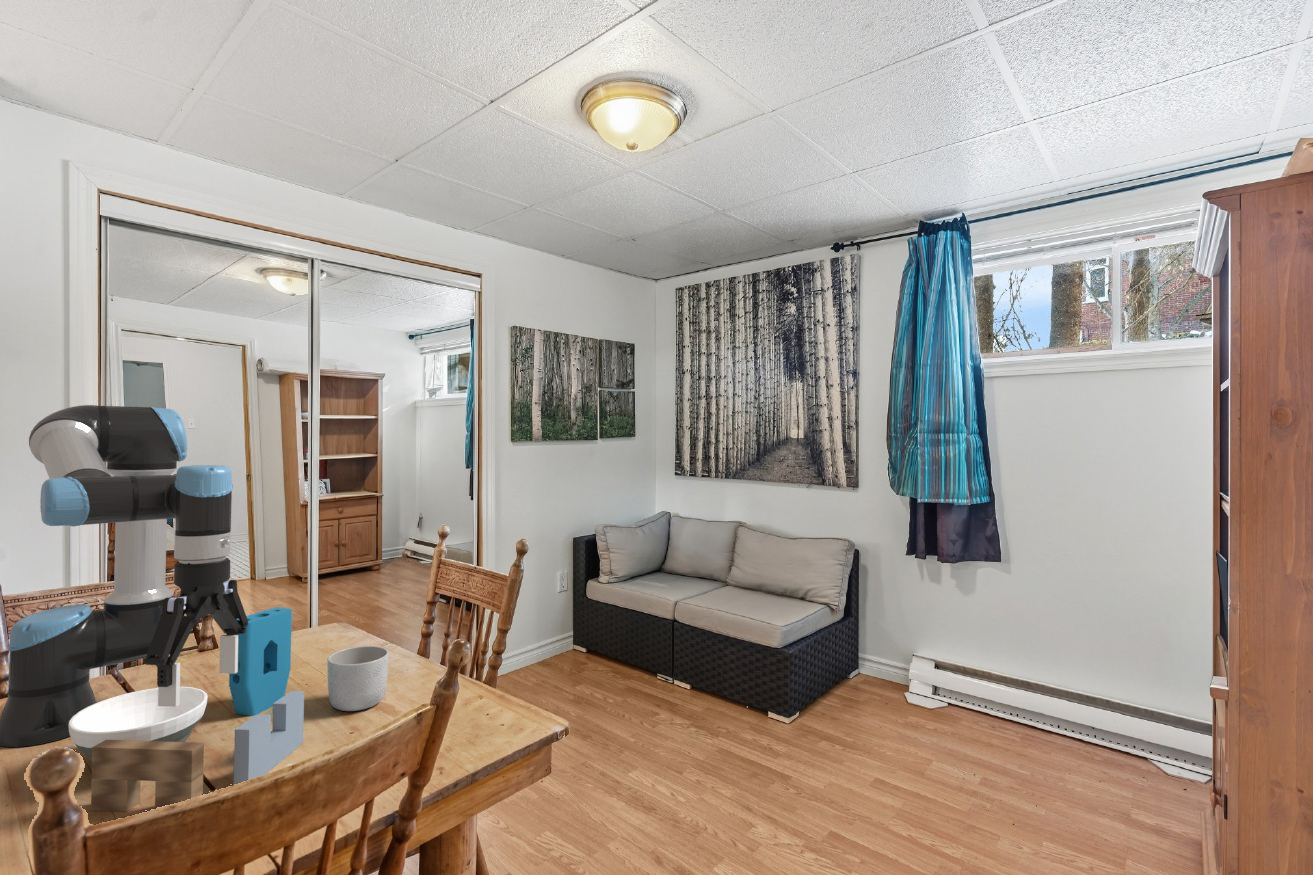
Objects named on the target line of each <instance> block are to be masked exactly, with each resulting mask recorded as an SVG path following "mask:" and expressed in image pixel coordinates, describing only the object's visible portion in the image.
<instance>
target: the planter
mask: <svg viewBox="0 0 1313 875" xmlns="http://www.w3.org/2000/svg"><path fill="white" fill-rule="evenodd" d="M389 658H390V651H389V649H387V648H385V647H382V646H378V645H360V646H352V647H347V648H343V649H340V650H338V651H335V652H333V653H331V654H330V655H329V656H328V657H327V659H326V660H327V661H326V662H327V664H326V665H327V690H328V691H327V692H328V700H329V703H330V705H331V706H332V707H333V708H335V709H336V710H338V711H343V712H357V711H362V710H363V711H364V710H366V709H369V708H372V707H374V706H376V705H378V704H379V703H380V702H381V701H382V699H383V698H384V696H385V695H386V690H387V685H388V674H389V673H388V672H389V661H390V660H389Z"/></svg>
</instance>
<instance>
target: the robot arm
mask: <svg viewBox="0 0 1313 875" xmlns="http://www.w3.org/2000/svg"><path fill="white" fill-rule="evenodd" d="M186 432H187V431H186V429H185V425H184V422H183V419H182V417H181V416H180V414H179V413H178V412H177V411H175V410H173V409H171V408H162V407H153V406H147V407H146V406H126V405H125V406H124V405H123V406H120V405H119V406H118V405H117V406H116V405H96V404H95V405H94V404H84V405H76V406H70V407H66V408H63V409H59V410H58V411H55V412H52V413H50V414H49V415H47V416H45V417H44V418H43V419H41V420H39V421H38V422H37V423H36V425H34V427H33V428H32V430H30V433H29V437H28V446H29V449H30V451H31V454H32V455H33V457H34V458H35V459H36V460H37V461H39V463H41V464H43V466H44V468H45V470H46V473H47V476H48V479H46V480H45V481H44V482H43V483H42V485H41V488H40V497H39V498H40V501H39V502H40V504H39V505H40V506H39V507H40V508H39V509H40V515H41V521H42V523H43V524H45V525H46V526H50V527H60V526H63V527H64V526H66V527H67V526H68V527H69V526H70V527H80V526H86V525H87V526H88V525H96V524H97V525H98V524H99V525H101V524H110V523H111V524H115V528H114V529H115V531H114V534H115V535H114V536H115V537H114V572H113V574H114V575H113V578H114V580H113V591H112V592H111V593H109V595H108V596H107V597H105V598H104V602H103V608H102V609H96V610H92V608H91V606H90V605H89V604H82V603H80V604H79V603H78V604H73V605H72V604H71V605H62V606H57V607H53V608H50V609H46V610H42V611H38V612H35V613H32V614H30V615H27V616H25V617H23V618H21V619H19V620H18V621H16V622H15V623H14V624H13V625H12V627H11V629H10V631H9V633H10V634H9V644H8V645H7V651H9V659H8V660H9V662H8V684H7V685H8V687H7V689H8V690H7V691H8V693H7V694H8V695H7V700H6V703H5V705H4V708H3V710H2V712H1V715H0V746H1V747H6V748H17V747H18V748H19V747H21V748H22V747H28V746H29V747H30V746H31V747H32V746H36V745H41V744H46V743H51V742H55V741H59V740H61V739H65V738H69V737H70V734H69V721H70V720H71V718H72V717H73V716H74V715H76V714H77V713H78V712H80V711H81V710H83V709H85V708H87V707H89V706H91V705H93V704H95V703H98V702H97V701H96V697H95V694H94V691H93V689H92V686H91V684H90V670H93V669H98V668H102V667H107V666H113V665H117V664H123V663H128V662H133V661H138V660H144V659H145V660H144V664H145V665H146V666H156V675H157V676H156V684H157V685H156V686H157V688H158V706H169V707H176V706H178V705H179V703H180V687H181V662H179V661H178V658H179V656H180V654H181V652H182V650H183V648H184V646H185V644H186V642H187V640H188V638H189V636H190V635H191V632H192V630H193V629H194V626H195V625H196V624H198V623H200V621H201V619H203V618H205V617H206V616H208V615H210V616H211V617H212V619H213V620H214V621H215V623H216V624H217V626H218V627H219V628H220V629H221V631H222V632H223V634H222V635H219V672H218V674H229V673H231V674H235V673H237V672H238V648H239V645H238V644H239V634H244V633H245V632H246V627H247V625H248V620H247V617H246V616H247V614H246V612H245V609H244V606H243V603H242V601H241V598H240V594H239V590H238V581H237V580H236V579H231V559H230V558H229V557H228V556H230V554H231V542H232V541H231V531H232V502H233V500H232V497H233V495H232V492H233V489H234V484H233V480H232V479H233V478H232V470H231V468H230V467H229V466H226V465H215V464H214V465H211V464H205V465H204V464H203V465H202V464H200V465H199V464H197V465H184V466H180V467H178V469H177V465H178V464H177V463H180V462H183V461H184V460H186V458H187V456H188V455H187V451H188V439H187V433H186ZM105 463H107V464H105ZM175 471H176V473H174V472H175ZM173 473H174V474H173ZM171 519H172V520H173V519H174V520H175V522H174V523H175V531H174V546H173V547H174V548H173V551H174V552H173V558H174V559H175V560H176V561H177V562H175V564H174V568H173V569H174V570H173V571H174V572H173V584H174V585H175V586H177V587H178V588H180V593H179V596H178V597H175V595H174V594H175V592H174V591H173V590H172V589H170V588H169V587H168V586H167V585H166V575H167V574H166V570H167V568H166V567H167V566H166V565H167V531H168V530H167V528H168V527H167V526H168V525H167V524H168V523H167V522H168V520H171ZM237 619H239V620H237ZM177 661H178V662H177Z"/></svg>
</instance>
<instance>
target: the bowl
mask: <svg viewBox="0 0 1313 875" xmlns="http://www.w3.org/2000/svg"><path fill="white" fill-rule="evenodd" d="M208 696H209V695H208V694H207V692H205V691H204V690H202V689H200V688H197V687H191V686H180V703H179V705H178V706H176V707H169V706H158V687H155V688H146V689H142V690H136V691H132V692H127V693H123V694H119V695H116V696H113V697H110V698H106V699H104V700H100V701H98V702H97V703H95V704H93V705H91V706H89V707H87V708H85V709H83V710H81V711H80V712H78V713H77V714H76V715H74V716H73V717H72V718H71V720H70V721H69V734H70V736H69V737H70V739H71V742H72V743H73V744H74V745H75V747H77V749H78V750H79V751H80V752H81V753H84V755H85V757H86V758H87V760H89V761H90V762H92V747H94V746H95V745H97V744H99V743H101V742H103V741H105V740H134V741H163V742H186V741H187V740H188V739H189V737H190V736H191V734H192V732H193V730H194V729H195V728H196V726H197V725H198V724H199V723H200V721H201V719H202V718H203V716H204V713H205V710H206V708H207V704H208Z"/></svg>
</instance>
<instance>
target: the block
mask: <svg viewBox="0 0 1313 875" xmlns="http://www.w3.org/2000/svg"><path fill="white" fill-rule="evenodd" d="M292 616H293V609H292V608H290V607H289V608H288V607H280V606H279V607H272V608H269V609H266V610H262V611H258V612H255V613H252V614H249V615H246V617H247V620H248V625H247V627H246V632H245V633H244V634H239V644H238V645H239V648H238V672H237V673H235V674H231V673H228V675H229V677H228V678H229V679H228V688H229V690H230V693H231V699H232V703H233V705H234V706H233V707H234V711H235V713H236V714H237V715H242V716H249V717H252V716H253V717H254V716H255V715H257V714H260V713H262V712H265V711H266V710H268V709H271V708H273V703H274V702H276V701H277V700H279V699H280V698H282V697H283V696H285V695H286V690H287V687H288V682H289V678H290V672H291V664H292V658H291V657H292V623H293V622H292V621H293V620H292ZM237 620H239V619H237Z"/></svg>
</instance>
